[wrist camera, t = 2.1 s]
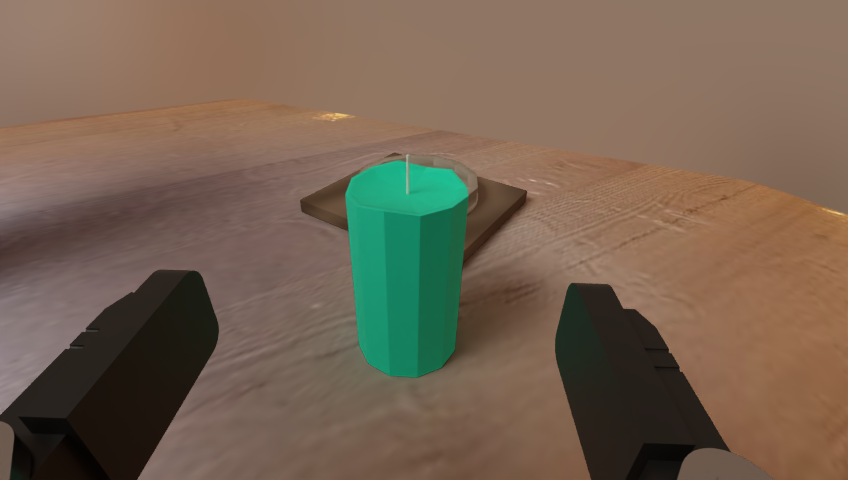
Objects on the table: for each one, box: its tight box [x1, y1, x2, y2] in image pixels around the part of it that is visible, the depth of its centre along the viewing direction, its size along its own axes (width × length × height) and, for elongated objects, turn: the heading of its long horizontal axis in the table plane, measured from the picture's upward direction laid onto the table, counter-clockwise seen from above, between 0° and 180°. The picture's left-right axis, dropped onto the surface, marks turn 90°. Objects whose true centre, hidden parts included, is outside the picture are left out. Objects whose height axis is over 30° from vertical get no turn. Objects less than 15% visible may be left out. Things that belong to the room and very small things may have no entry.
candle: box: [345, 154, 469, 377], centre depth 23 cm, size 6×6×12 cm
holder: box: [300, 153, 527, 263], centre depth 39 cm, size 16×14×3 cm
